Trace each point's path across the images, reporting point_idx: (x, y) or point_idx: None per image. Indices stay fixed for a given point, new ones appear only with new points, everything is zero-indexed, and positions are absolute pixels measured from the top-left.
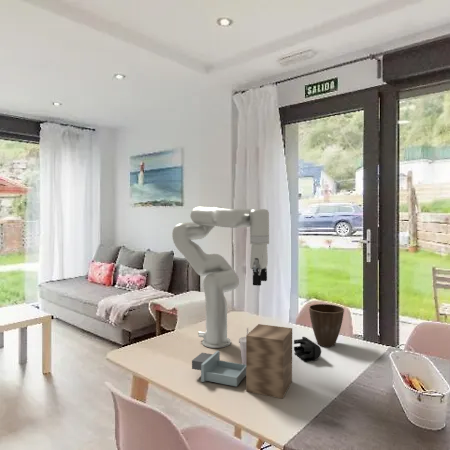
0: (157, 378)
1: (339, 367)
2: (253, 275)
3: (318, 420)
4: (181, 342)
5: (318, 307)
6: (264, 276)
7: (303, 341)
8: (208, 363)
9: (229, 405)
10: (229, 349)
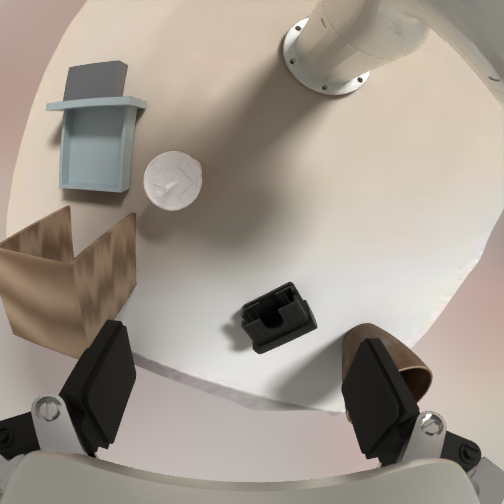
0: (78, 20)
1: (234, 361)
2: (70, 394)
3: None
4: None
5: (426, 372)
6: (357, 408)
7: (284, 324)
8: (69, 108)
9: (27, 192)
10: (287, 98)
